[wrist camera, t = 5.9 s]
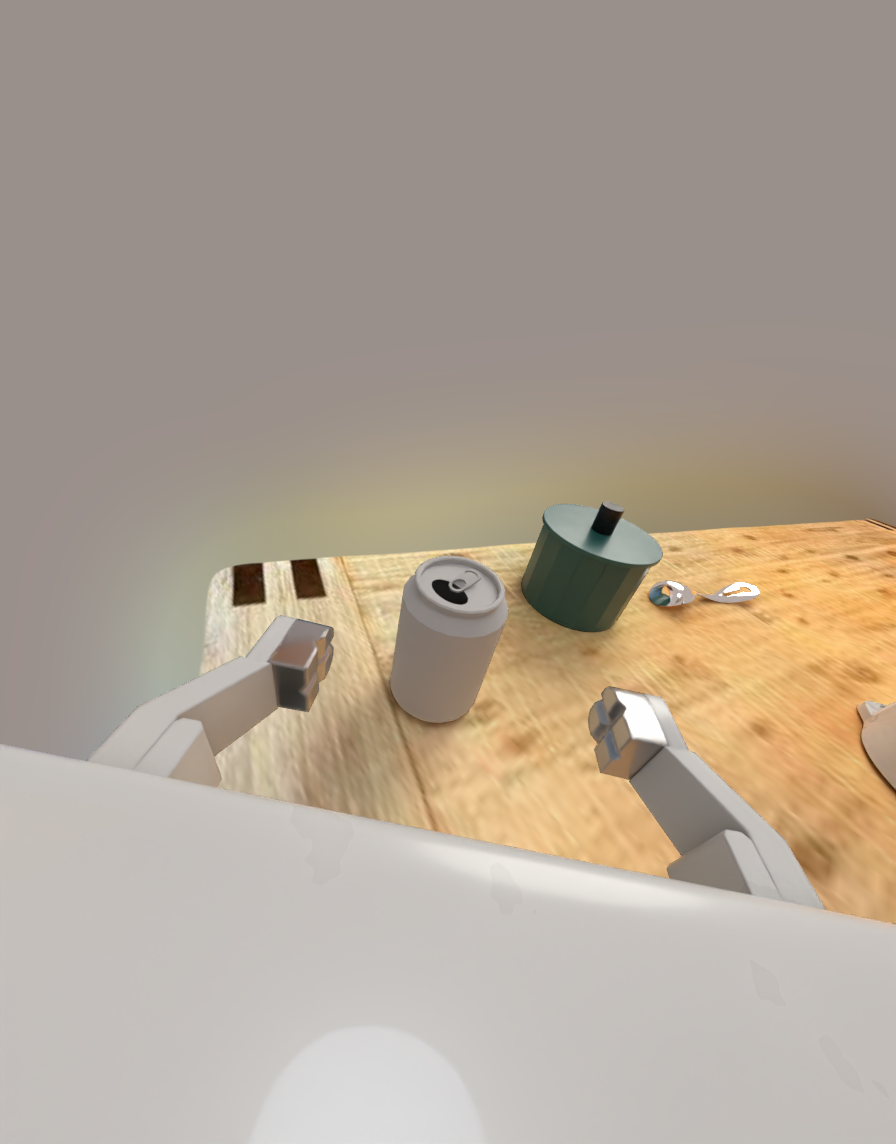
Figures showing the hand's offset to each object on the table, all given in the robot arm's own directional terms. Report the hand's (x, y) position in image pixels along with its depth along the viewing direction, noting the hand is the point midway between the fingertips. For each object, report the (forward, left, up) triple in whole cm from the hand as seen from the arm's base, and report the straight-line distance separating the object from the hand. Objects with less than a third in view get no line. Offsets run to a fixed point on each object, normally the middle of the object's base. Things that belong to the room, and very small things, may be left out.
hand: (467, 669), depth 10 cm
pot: (-19, -28, -17) cm, 38 cm away
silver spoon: (-41, -32, -18) cm, 56 cm away
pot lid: (-19, -28, -8) cm, 35 cm away
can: (-2, -12, -18) cm, 21 cm away
